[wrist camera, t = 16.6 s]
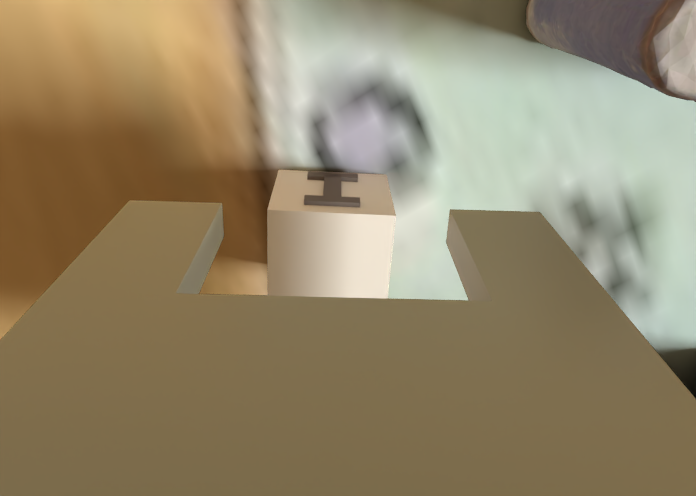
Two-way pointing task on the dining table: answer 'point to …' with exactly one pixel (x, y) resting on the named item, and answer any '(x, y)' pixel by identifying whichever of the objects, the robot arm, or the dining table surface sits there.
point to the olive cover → (335, 377)
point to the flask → (625, 37)
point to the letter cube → (330, 235)
